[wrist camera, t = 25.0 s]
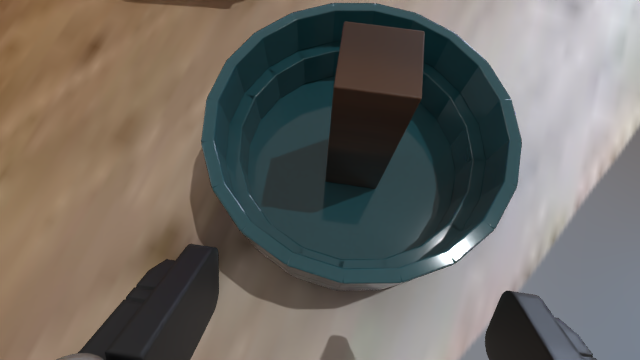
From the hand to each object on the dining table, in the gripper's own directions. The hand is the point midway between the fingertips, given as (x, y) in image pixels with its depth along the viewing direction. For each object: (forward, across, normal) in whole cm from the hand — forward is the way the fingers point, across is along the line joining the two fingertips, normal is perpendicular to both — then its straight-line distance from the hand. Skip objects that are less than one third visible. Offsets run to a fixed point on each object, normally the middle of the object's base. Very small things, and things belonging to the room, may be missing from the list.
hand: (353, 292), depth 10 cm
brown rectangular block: (+12, 0, 0) cm, 12 cm away
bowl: (+12, 0, +1) cm, 12 cm away
